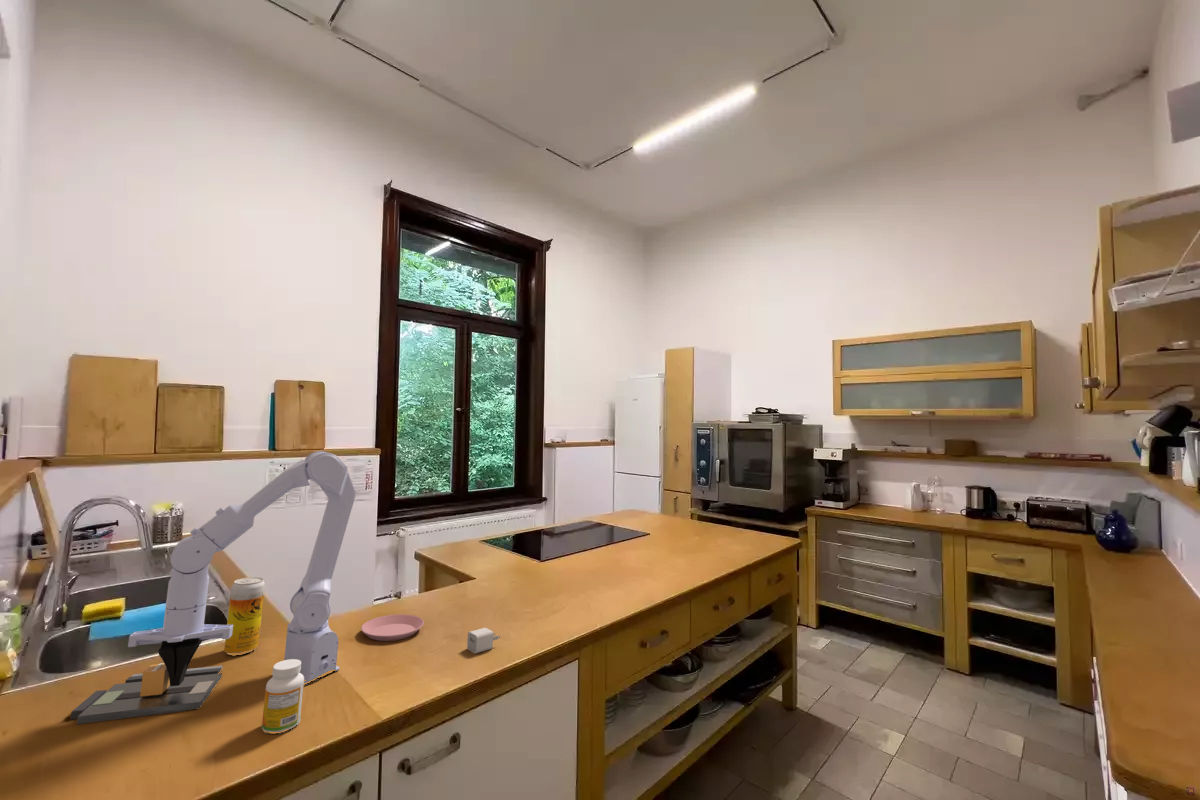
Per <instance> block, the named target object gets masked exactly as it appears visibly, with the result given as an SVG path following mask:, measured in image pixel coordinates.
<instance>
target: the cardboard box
mask: <svg viewBox="0 0 1200 800" xmlns="http://www.w3.org/2000/svg"><path fill="white" fill-rule="evenodd" d="M142 673H143V677H142V685H141V693H140V697H141V696H150V695H159V694H162V693H163V692H164V691H165V690H166V689H167V688H168V687H169V685H170V680H169V675H168V671H167V668H166V666H165V663H164V662H162V663H157V664H156V663H155V664H151V665H149V666H148V667H147V668H146V669H144V671H143V672H142Z"/></svg>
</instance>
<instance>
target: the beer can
mask: <svg viewBox="0 0 1200 800" xmlns="http://www.w3.org/2000/svg"><path fill="white" fill-rule="evenodd" d="M265 588H266V583H265V581H264V578H263V577H258V576H255V577H253V576H252V577H251V576H250V577H243V578H238V579H235V580H234V581H233V584H232V585H231V586H230V595H229V602H228V603H229V605H228V612H227V623H226V625H233V631H232V636H231V637H230V638H229V639H224V650H223V651H224V652H225V653H226V652H227V653H241V652H244V651H249V650H251V649H254V648H256V647H257V646H258V647H259V643H260V635H261V626H262V625H261V624H262V616H263V606H264V605H263V604H264V596H265ZM256 649H257V648H256ZM227 653H226V654H227Z"/></svg>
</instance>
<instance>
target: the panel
mask: <svg viewBox="0 0 1200 800" xmlns="http://www.w3.org/2000/svg"><path fill="white" fill-rule="evenodd" d="M222 676H223V674H222V672H221V673H219V674H209V675H200V676H190V677H184V681H183V682H182V683H181V684H180V685H179V686H170V685H169V687H168V688H167V689H166V690H165V691H164V692H163V693H162V694H159V695H150V696H141V697H140V693H141V685H142V682H132V683H115V684H113V685H112V686H111V687H110V688H108V689H107V691H106V692H105V693H104V694H103V695H102V696H101V697H100V698H98V699H97V700H96V701H95V702H94V703H93V704H92V705H90V706H89V707H88V708H87V709H86V710H85V711H83V712H82V713H81V714H80V715H79V716H78V718H77V720H76V725H82V724H89V723H98V722H99V723H100V722H107V721H114V720H121V719H129V718H131V719H132V718H139V717H146V716H154V715H163V714H170V713H179V712H187V711H186V710H188V711H192V710H191V709H196V710H198V709H197V708H200V706H201V705H202V704H203V702H204V701H205V700H207V699H208V698H209V697H210V695H211V694H212V693H211V691H212V689H213V688H214V687H215V685H216V684H217V683H218V681H219V680H220V678H221V679H222ZM218 684H219V683H218ZM215 688H216V687H215ZM212 692H213V691H212ZM210 693H211V694H210ZM209 694H210V695H209ZM208 696H209V697H208ZM207 697H208V698H207ZM206 698H207V699H206ZM205 702H206V701H205ZM205 702H204V703H205ZM203 705H204V704H203ZM203 705H202V706H203ZM202 706H201V707H202ZM200 709H201V708H200Z"/></svg>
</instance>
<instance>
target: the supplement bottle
mask: <svg viewBox="0 0 1200 800" xmlns="http://www.w3.org/2000/svg"><path fill="white" fill-rule="evenodd" d="M300 670H301V661H300V660H297V659H289V660H280V661H278V662H276V663H275V664H274V665H273V667H272V673H271V676H272V677H271V678H270V679H269V680H268V681H267V683H266V685H265V693H264V702H263V710H262V712H263V713H262V722H261V730H262V729H263V730H264V731H266V732H281V731H284V730H287V729H291V728H293V727H295V726H296V725H297V726H298V725H299V724H300V722H301V718H302V710H303V699H304V698H303V697H304V687H305V685H304V676H303V675H302V674H301V673H299V672H300ZM297 726H296V727H297ZM296 727H295V728H296ZM293 729H294V728H293ZM263 730H262V731H263ZM291 730H292V729H291Z"/></svg>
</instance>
